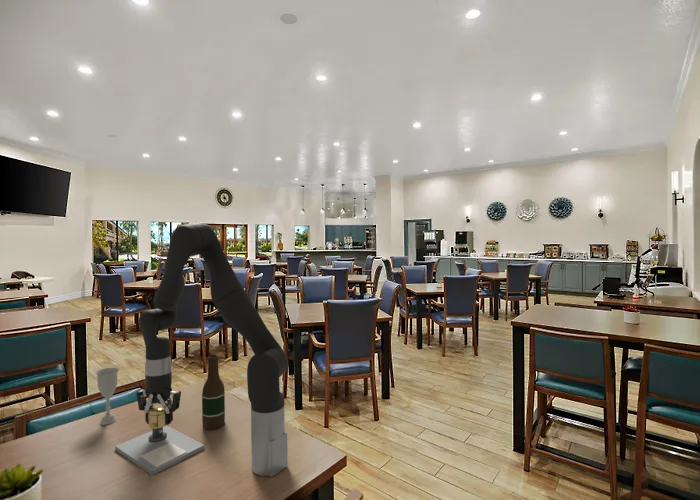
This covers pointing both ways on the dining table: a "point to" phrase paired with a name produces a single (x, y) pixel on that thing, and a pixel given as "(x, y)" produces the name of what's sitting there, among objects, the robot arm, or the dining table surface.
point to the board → (159, 449)
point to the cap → (157, 417)
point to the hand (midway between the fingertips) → (159, 423)
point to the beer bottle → (213, 397)
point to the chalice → (107, 391)
